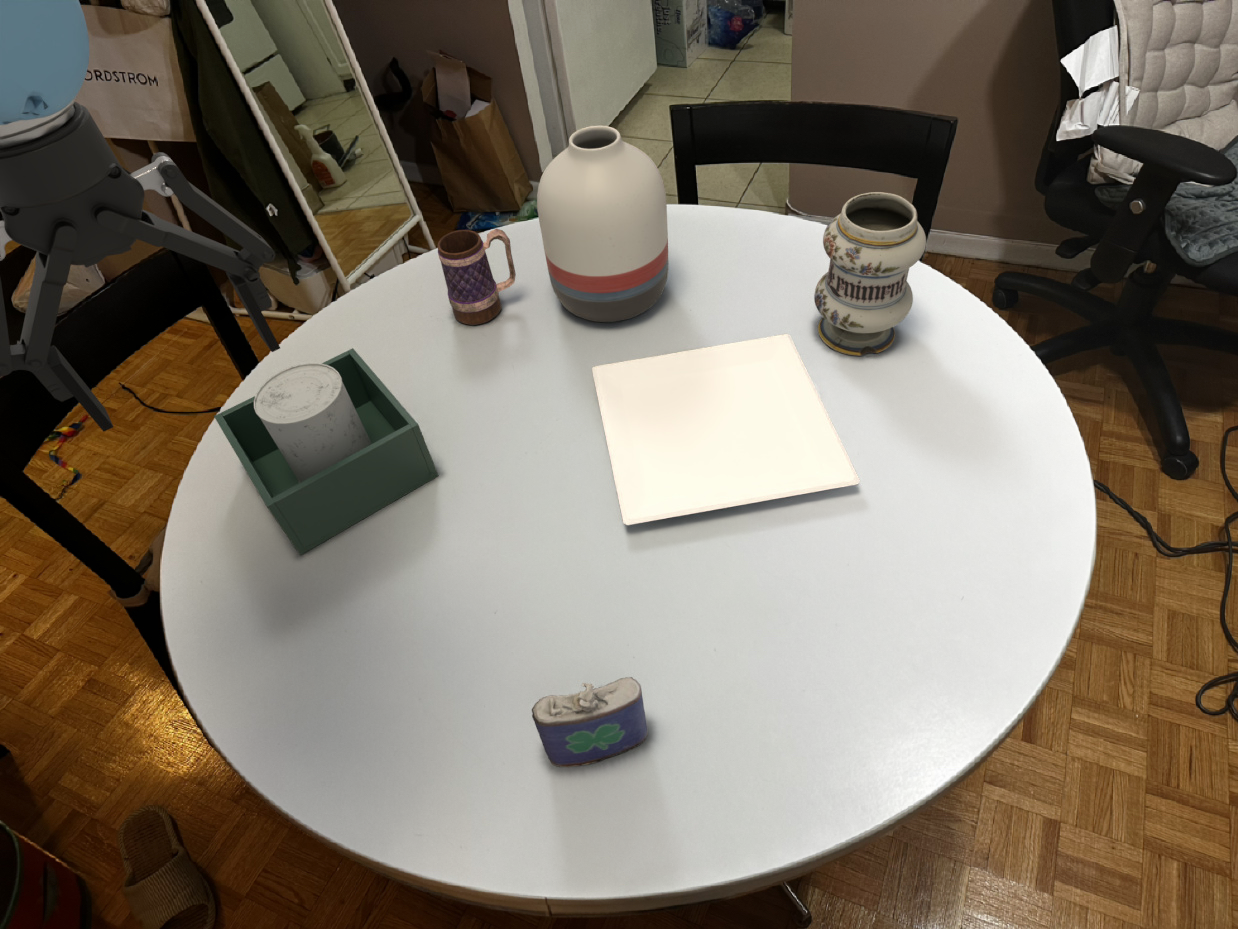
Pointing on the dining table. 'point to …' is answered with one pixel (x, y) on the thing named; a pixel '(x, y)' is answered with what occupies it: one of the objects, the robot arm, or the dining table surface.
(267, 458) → the bin
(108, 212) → the robot arm
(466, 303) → the mug
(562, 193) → the vase
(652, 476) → the white flat square slab
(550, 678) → the dining table surface
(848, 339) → the apothecary jar
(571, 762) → the flask
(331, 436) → the white speckled cylinder
